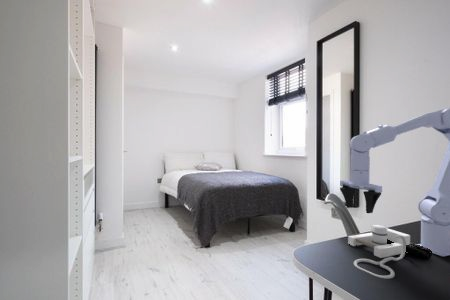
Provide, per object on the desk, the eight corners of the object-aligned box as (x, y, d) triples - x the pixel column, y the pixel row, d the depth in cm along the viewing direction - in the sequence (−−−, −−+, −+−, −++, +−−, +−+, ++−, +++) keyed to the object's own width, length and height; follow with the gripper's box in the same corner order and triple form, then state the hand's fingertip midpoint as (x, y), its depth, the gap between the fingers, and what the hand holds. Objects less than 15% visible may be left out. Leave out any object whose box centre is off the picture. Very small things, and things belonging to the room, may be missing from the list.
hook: (425, 262, 67) (387, 293, 57) (388, 249, 75) (349, 274, 65) (424, 236, 66) (385, 263, 56) (387, 226, 74) (347, 248, 64)
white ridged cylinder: (368, 245, 78) (368, 225, 78) (378, 243, 79) (378, 224, 79) (380, 250, 74) (380, 229, 74) (390, 249, 75) (390, 228, 75)
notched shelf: (375, 239, 84) (375, 224, 84) (409, 251, 74) (410, 235, 74) (348, 243, 79) (348, 228, 79) (380, 258, 69) (380, 240, 69)
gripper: (334, 168, 87) (333, 206, 87) (371, 172, 74) (370, 216, 74) (348, 168, 90) (347, 204, 90) (387, 172, 77) (386, 214, 77)
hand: (359, 210), depth 82 cm, fingers open, 7 cm apart
